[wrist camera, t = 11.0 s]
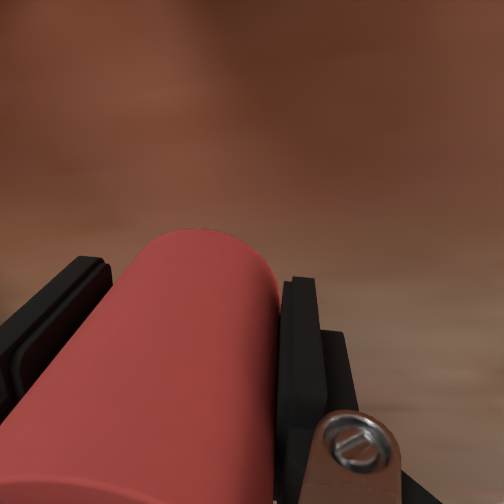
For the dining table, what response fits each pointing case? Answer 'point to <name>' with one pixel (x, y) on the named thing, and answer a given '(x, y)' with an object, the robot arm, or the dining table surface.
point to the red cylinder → (158, 387)
